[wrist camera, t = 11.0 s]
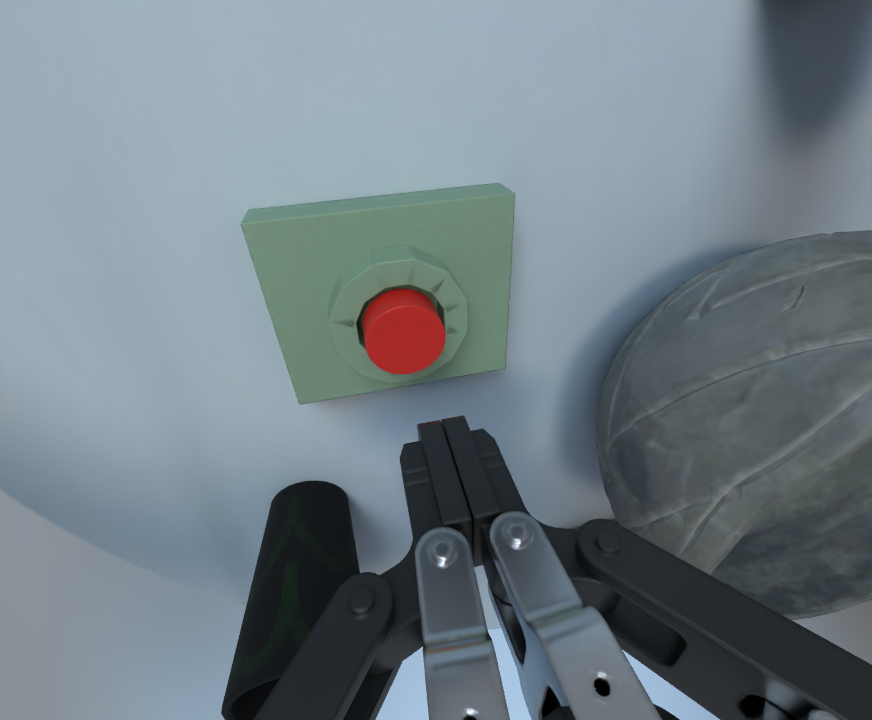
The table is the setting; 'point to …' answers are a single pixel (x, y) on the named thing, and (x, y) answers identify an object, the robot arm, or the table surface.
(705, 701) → the robot arm
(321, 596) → the cup
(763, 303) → the bowl
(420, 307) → the timer button
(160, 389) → the table surface
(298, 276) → the green button base
